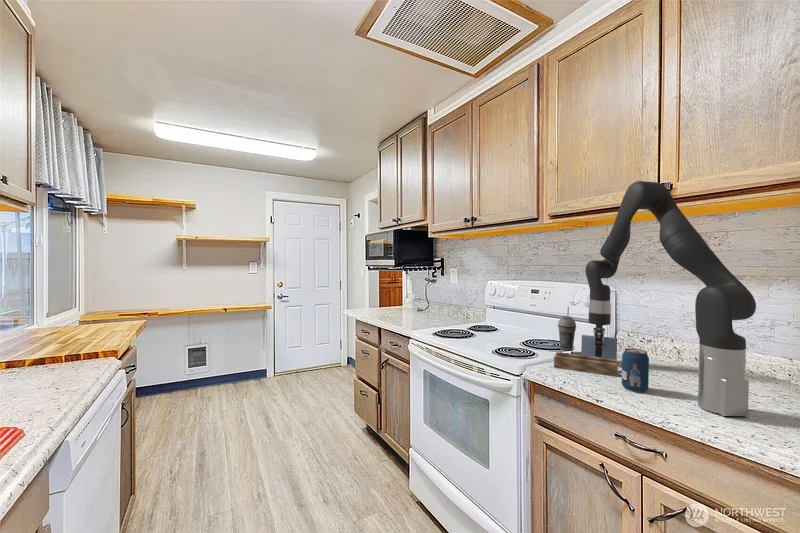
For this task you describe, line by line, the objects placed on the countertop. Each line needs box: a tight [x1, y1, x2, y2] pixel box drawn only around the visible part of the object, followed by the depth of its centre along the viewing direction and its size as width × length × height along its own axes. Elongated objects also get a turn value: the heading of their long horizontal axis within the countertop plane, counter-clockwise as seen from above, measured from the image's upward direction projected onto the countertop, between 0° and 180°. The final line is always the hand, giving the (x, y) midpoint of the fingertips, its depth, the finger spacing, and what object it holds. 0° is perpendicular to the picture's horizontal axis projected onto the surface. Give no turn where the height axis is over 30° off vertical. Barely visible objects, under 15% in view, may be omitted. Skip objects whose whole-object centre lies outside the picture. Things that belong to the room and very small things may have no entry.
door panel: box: [580, 334, 618, 361], centre depth 139 cm, size 12×2×10 cm, turn 60°
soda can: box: [621, 347, 650, 394], centre depth 110 cm, size 7×7×12 cm
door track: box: [553, 351, 619, 377], centre depth 130 cm, size 20×8×4 cm, turn 60°
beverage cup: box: [557, 306, 577, 352], centre depth 153 cm, size 7×7×20 cm
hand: (598, 355), depth 139 cm, fingers open, 3 cm apart
